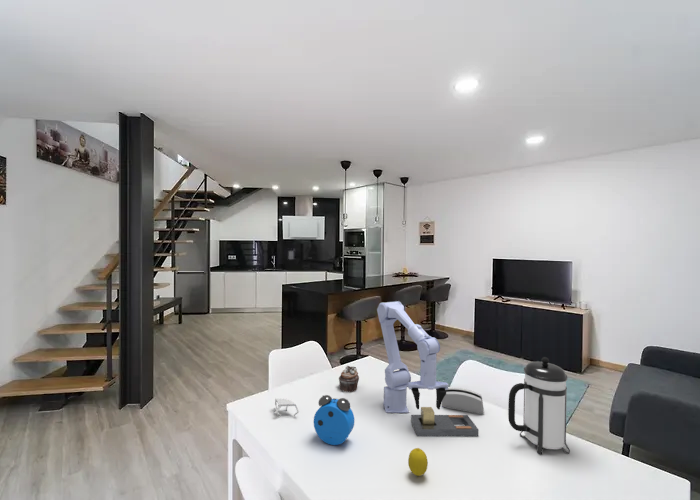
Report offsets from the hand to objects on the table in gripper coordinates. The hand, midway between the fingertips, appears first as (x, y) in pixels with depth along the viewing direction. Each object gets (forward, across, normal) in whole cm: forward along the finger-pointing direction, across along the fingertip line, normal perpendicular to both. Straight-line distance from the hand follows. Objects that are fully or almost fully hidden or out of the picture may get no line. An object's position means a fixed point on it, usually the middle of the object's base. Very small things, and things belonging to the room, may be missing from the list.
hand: (427, 408), depth 119 cm
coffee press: (+8, +36, -10) cm, 39 cm away
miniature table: (+8, -54, +10) cm, 55 cm away
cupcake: (+8, -29, +34) cm, 45 cm away
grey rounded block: (+8, +19, +15) cm, 25 cm away
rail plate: (+8, +6, 0) cm, 10 cm away
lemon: (+8, -10, -25) cm, 28 cm away
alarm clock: (+8, -35, -8) cm, 36 cm away
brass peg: (+8, 0, 0) cm, 8 cm away
